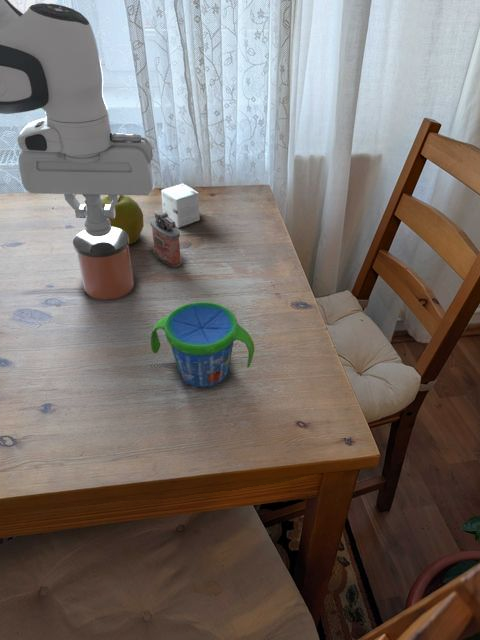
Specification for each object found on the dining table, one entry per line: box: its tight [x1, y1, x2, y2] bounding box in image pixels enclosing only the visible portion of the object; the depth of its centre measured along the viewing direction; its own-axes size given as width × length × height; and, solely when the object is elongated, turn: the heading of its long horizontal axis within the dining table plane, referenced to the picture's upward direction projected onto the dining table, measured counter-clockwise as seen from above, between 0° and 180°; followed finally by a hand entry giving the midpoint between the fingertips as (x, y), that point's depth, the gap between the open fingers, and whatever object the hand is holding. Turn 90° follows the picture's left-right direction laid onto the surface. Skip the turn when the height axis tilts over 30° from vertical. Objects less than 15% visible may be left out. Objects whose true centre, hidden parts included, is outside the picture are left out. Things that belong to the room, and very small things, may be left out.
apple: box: [101, 195, 145, 246], centre depth 107 cm, size 10×10×11 cm
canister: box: [72, 227, 135, 300], centre depth 94 cm, size 9×9×10 cm
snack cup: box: [150, 301, 255, 388], centre depth 79 cm, size 16×10×10 cm
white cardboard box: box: [160, 183, 201, 229], centre depth 115 cm, size 6×6×7 cm
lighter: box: [149, 210, 183, 267], centre depth 103 cm, size 8×3×10 cm, turn 40°
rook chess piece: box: [81, 194, 112, 237], centre depth 87 cm, size 4×4×8 cm
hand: (96, 216), depth 88 cm, fingers closed on rook chess piece, 3 cm apart
